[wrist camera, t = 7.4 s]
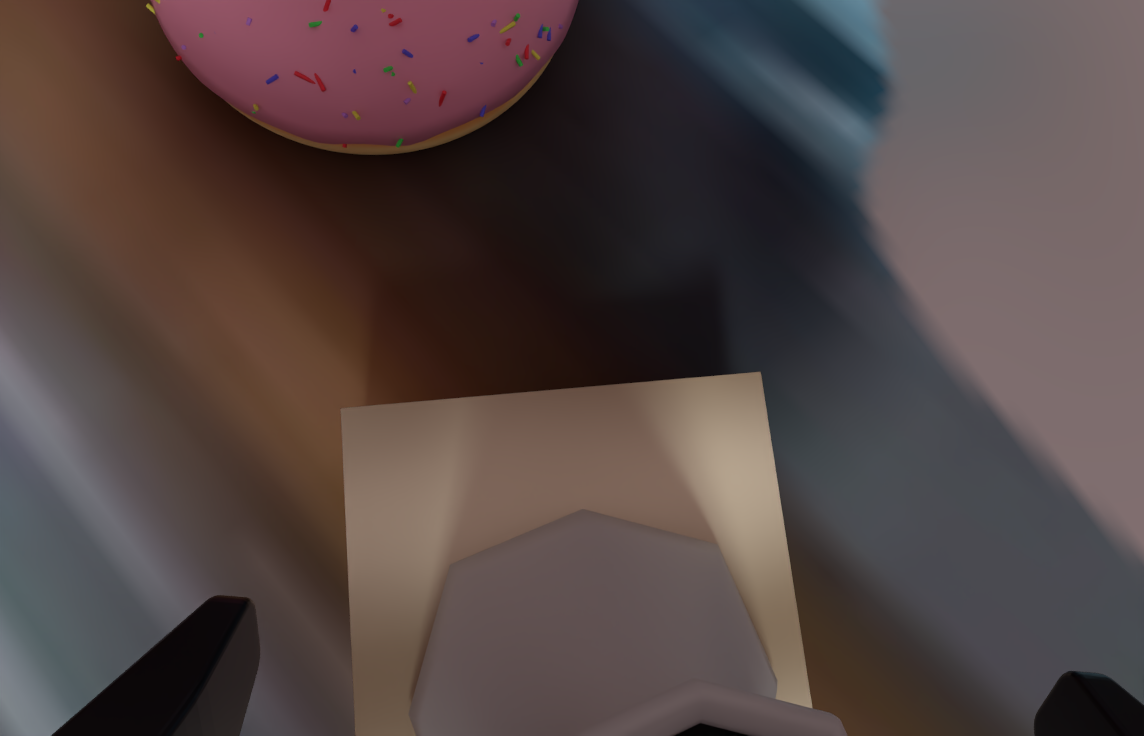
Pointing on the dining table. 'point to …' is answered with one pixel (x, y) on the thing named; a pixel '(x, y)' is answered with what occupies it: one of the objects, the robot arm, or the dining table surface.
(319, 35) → the doughnut
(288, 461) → the dining table surface
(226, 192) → the dining table surface
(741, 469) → the foundation block
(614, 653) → the flask
